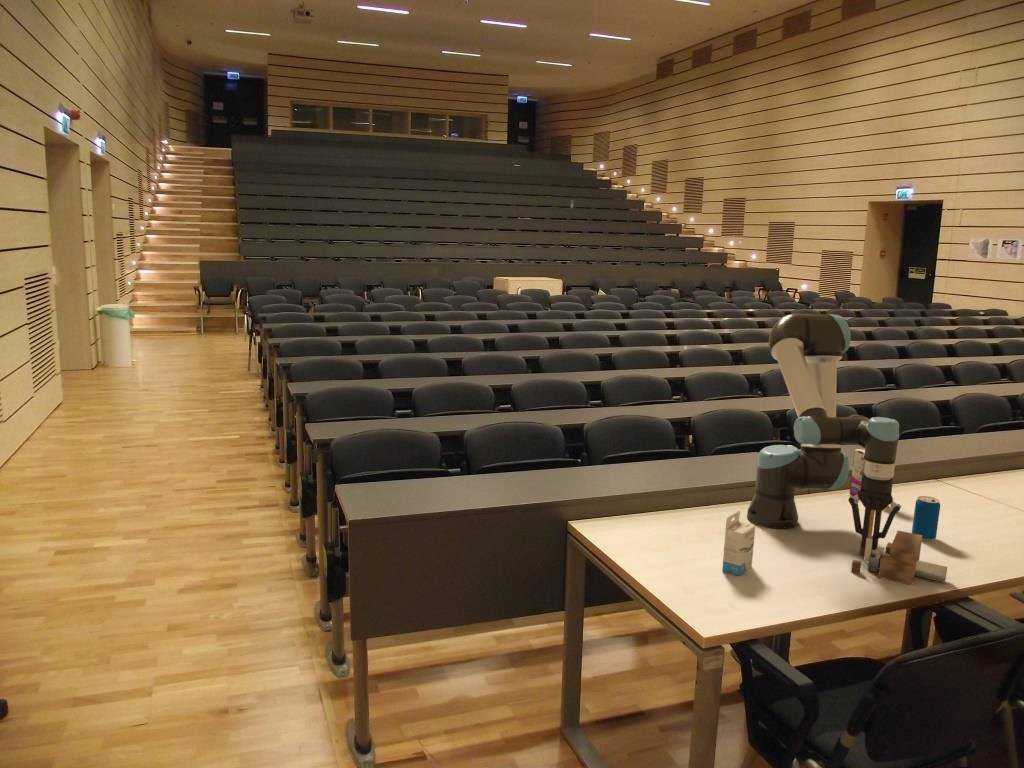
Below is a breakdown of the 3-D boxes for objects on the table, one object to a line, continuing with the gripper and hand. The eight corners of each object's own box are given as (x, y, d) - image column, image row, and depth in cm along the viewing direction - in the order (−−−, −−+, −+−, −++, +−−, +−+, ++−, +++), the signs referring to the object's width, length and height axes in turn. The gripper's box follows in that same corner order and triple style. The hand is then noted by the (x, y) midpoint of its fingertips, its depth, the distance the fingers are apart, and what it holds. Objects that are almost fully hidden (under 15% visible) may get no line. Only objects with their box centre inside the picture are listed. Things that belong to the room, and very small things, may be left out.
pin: (867, 570, 206) (869, 556, 206) (872, 559, 214) (874, 545, 213) (943, 588, 197) (945, 573, 196) (946, 575, 204) (948, 561, 204)
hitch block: (850, 571, 206) (854, 539, 204) (860, 552, 219) (864, 522, 217) (912, 586, 198) (916, 553, 196) (918, 565, 211) (922, 533, 210)
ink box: (739, 577, 201) (744, 522, 198) (721, 571, 204) (725, 518, 201) (752, 566, 207) (757, 514, 205) (734, 561, 210) (739, 509, 208)
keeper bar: (866, 491, 215) (866, 490, 216) (859, 543, 217) (860, 542, 218) (878, 493, 214) (878, 492, 215) (871, 546, 215) (871, 545, 216)
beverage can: (938, 542, 228) (944, 503, 225) (915, 540, 229) (920, 501, 227) (931, 534, 234) (936, 496, 232) (908, 532, 235) (913, 494, 233)
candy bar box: (884, 504, 261) (890, 456, 258) (872, 505, 259) (877, 457, 256) (860, 493, 271) (865, 448, 268) (848, 494, 270) (853, 448, 267)
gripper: (848, 474, 206) (839, 558, 211) (902, 484, 199) (892, 570, 204) (853, 468, 212) (844, 549, 217) (906, 477, 205) (895, 561, 210)
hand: (867, 559), depth 210 cm, fingers closed
